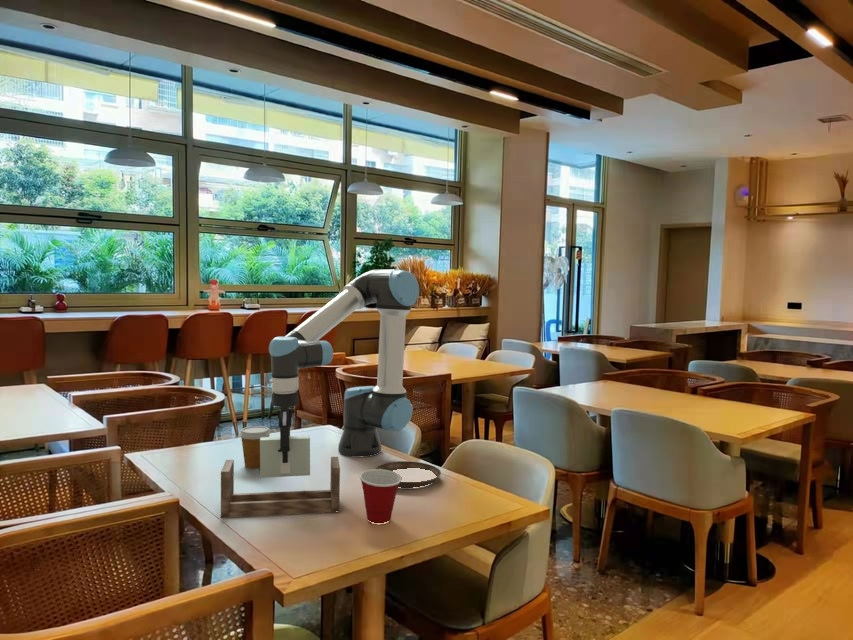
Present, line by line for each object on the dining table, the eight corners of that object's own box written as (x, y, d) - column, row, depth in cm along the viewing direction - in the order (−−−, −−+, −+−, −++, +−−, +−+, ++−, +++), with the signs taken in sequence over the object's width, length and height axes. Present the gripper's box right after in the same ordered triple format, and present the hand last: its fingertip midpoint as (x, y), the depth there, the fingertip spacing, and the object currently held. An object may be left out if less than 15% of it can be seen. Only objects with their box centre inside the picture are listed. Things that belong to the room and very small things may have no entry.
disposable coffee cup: (265, 470, 193) (265, 433, 192) (235, 469, 193) (235, 432, 192) (273, 461, 203) (273, 426, 202) (245, 460, 203) (245, 425, 202)
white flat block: (310, 471, 180) (309, 435, 179) (310, 475, 177) (309, 438, 176) (261, 474, 178) (260, 437, 177) (260, 477, 175) (259, 440, 174)
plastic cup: (384, 533, 149) (385, 485, 148) (349, 522, 155) (350, 476, 154) (409, 519, 158) (410, 473, 158) (375, 509, 164) (376, 466, 163)
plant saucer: (421, 467, 202) (422, 457, 202) (453, 487, 184) (453, 476, 184) (363, 475, 193) (363, 464, 192) (390, 497, 174) (390, 485, 174)
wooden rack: (337, 498, 171) (338, 456, 171) (339, 512, 162) (340, 467, 161) (225, 503, 166) (226, 459, 165) (220, 517, 156) (220, 471, 155)
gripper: (273, 385, 182) (273, 462, 184) (269, 397, 167) (270, 481, 169) (298, 385, 184) (299, 461, 186) (297, 396, 168) (298, 479, 170)
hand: (285, 470), depth 177 cm, fingers closed on white flat block, 3 cm apart
